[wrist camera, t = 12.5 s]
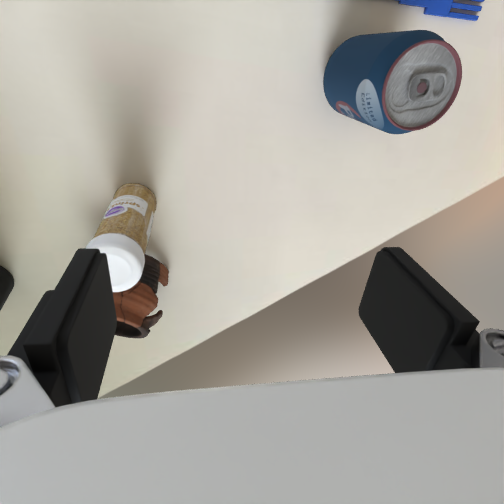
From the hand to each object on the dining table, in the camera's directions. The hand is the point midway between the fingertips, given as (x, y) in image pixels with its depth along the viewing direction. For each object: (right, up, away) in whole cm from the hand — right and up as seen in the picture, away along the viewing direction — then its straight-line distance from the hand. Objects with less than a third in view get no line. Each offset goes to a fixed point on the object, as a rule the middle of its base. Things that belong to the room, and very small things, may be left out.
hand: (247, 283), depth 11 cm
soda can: (+10, +19, +22) cm, 31 cm away
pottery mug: (-15, -2, +30) cm, 34 cm away
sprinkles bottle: (-13, +7, +25) cm, 29 cm away
